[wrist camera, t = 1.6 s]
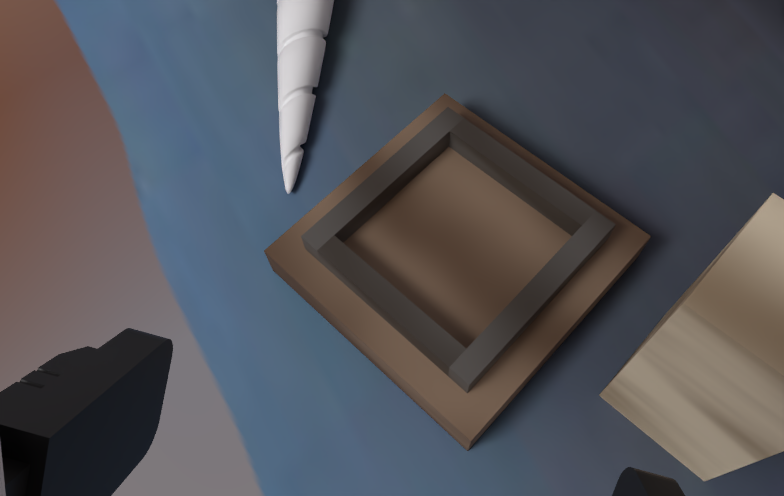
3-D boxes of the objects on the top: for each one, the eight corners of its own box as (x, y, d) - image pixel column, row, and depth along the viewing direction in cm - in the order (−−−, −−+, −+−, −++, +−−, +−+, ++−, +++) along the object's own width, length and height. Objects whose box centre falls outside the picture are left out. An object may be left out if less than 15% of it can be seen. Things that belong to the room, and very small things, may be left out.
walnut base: (443, 119, 35) (445, 76, 32) (637, 256, 30) (659, 222, 28) (273, 270, 31) (258, 237, 28) (467, 451, 27) (472, 434, 24)
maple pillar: (665, 313, 29) (773, 192, 20) (769, 390, 27) (936, 294, 19) (598, 395, 28) (682, 303, 19) (704, 481, 26) (852, 424, 17)
